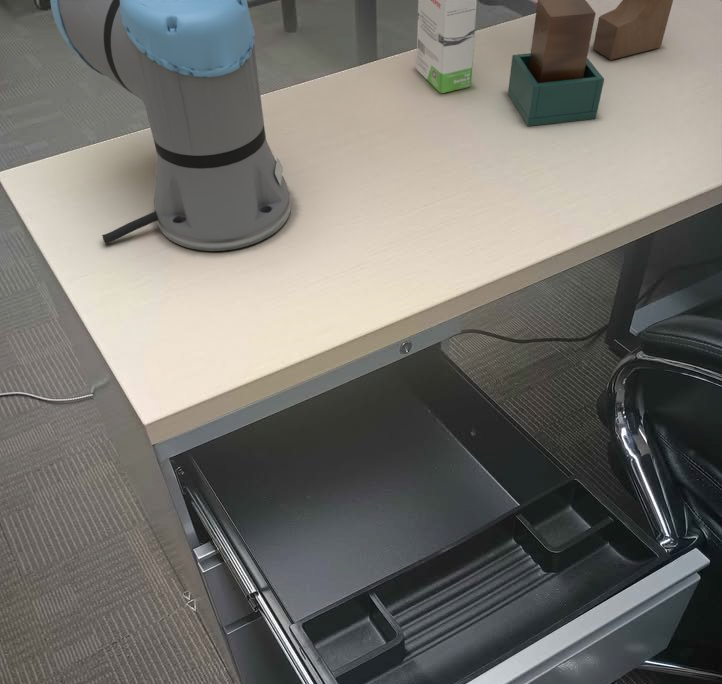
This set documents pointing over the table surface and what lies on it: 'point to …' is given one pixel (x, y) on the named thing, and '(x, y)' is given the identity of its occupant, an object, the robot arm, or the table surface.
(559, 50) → the post
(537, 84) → the open box
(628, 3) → the wooden block
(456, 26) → the ink box
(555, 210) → the table surface
